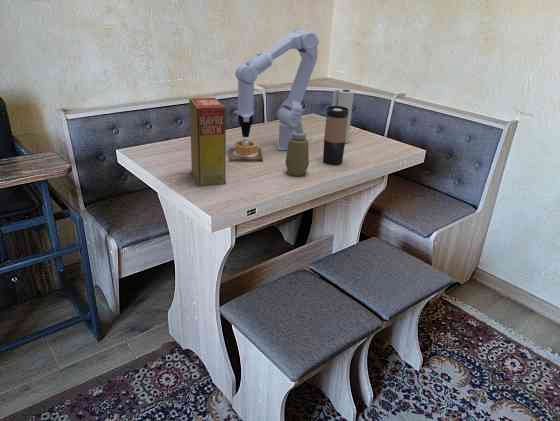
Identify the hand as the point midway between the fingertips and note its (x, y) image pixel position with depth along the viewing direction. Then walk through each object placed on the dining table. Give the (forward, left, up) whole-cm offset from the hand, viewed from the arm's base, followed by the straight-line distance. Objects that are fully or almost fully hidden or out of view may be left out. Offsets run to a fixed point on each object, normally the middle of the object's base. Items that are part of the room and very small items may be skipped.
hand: (245, 135), depth 172 cm
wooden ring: (0, +2, -6) cm, 6 cm away
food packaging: (+13, +24, -7) cm, 29 cm away
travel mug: (-32, +9, -7) cm, 34 cm away
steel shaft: (0, +3, -7) cm, 8 cm away
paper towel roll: (-40, -15, -7) cm, 43 cm away
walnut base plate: (0, +3, -7) cm, 8 cm away
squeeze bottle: (-17, +20, -7) cm, 27 cm away
